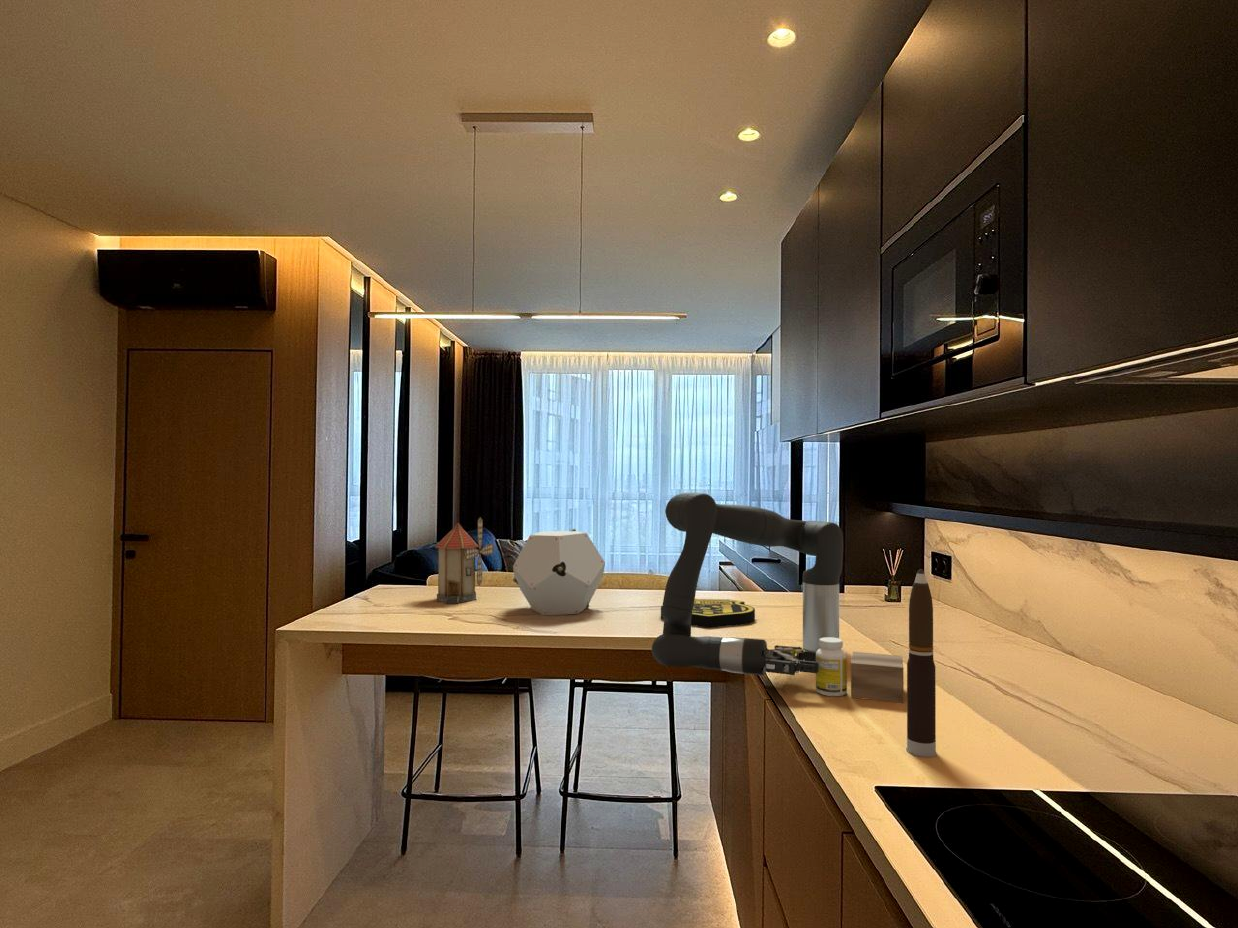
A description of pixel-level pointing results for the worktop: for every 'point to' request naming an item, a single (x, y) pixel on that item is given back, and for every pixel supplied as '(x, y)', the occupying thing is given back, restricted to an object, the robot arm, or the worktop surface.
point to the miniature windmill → (460, 565)
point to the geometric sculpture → (559, 571)
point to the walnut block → (877, 677)
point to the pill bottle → (831, 667)
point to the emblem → (720, 613)
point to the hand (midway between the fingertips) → (820, 662)
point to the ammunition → (921, 672)
